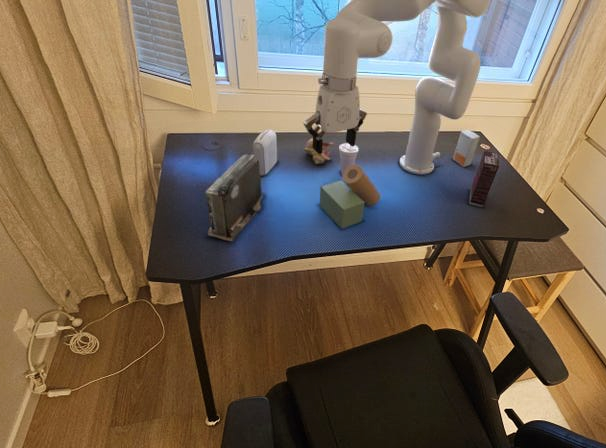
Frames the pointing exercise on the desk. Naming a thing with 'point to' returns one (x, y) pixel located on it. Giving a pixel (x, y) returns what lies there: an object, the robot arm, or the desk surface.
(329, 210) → the green block
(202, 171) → the desk surface
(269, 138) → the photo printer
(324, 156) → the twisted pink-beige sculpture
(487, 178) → the supplement box
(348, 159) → the smoothie
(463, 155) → the cosmetic box
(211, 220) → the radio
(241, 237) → the desk surface
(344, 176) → the paper roll
